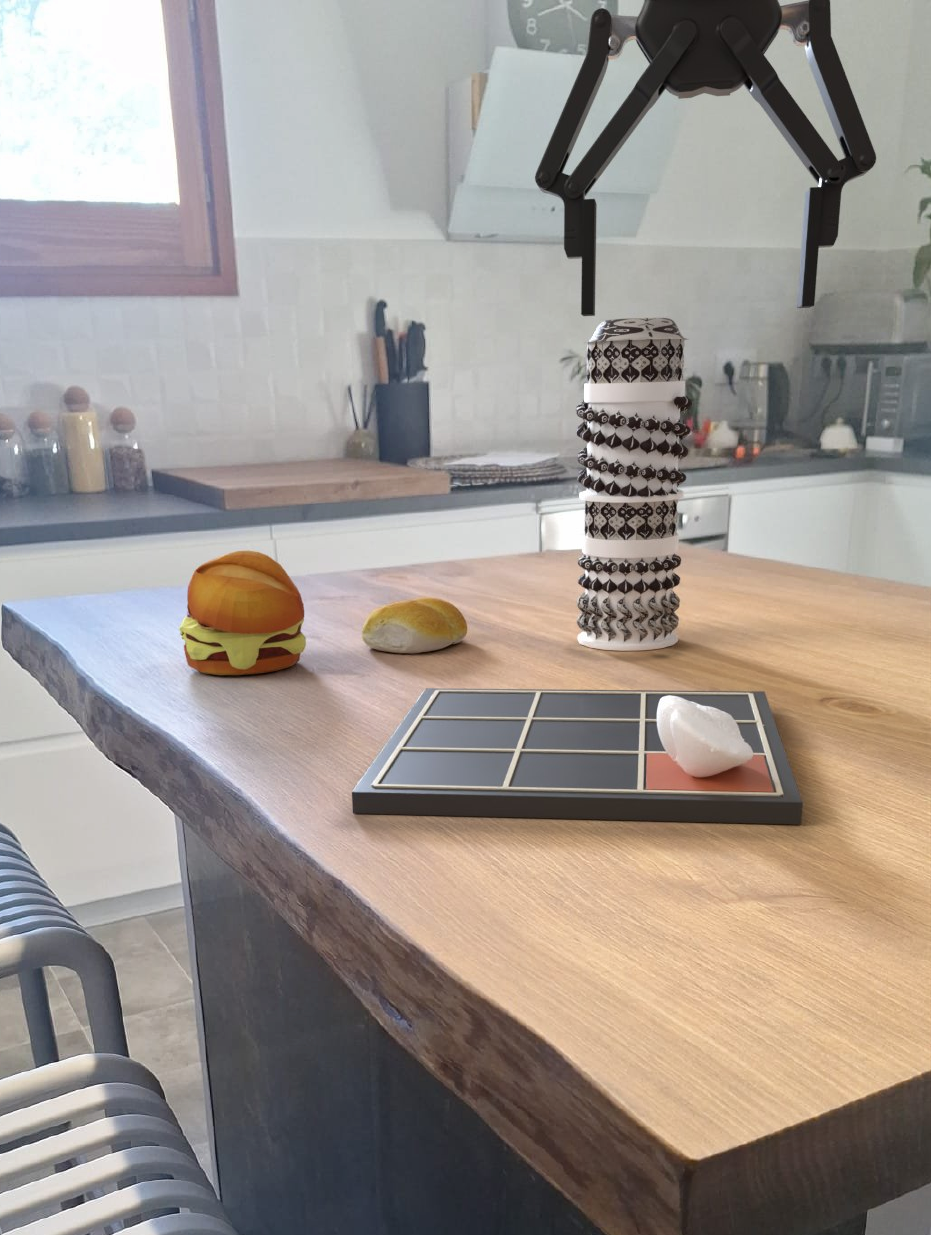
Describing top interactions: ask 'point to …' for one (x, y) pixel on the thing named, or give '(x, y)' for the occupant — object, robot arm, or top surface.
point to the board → (572, 760)
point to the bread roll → (414, 626)
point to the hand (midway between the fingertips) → (695, 312)
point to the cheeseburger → (242, 616)
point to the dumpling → (700, 737)
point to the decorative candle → (631, 484)
